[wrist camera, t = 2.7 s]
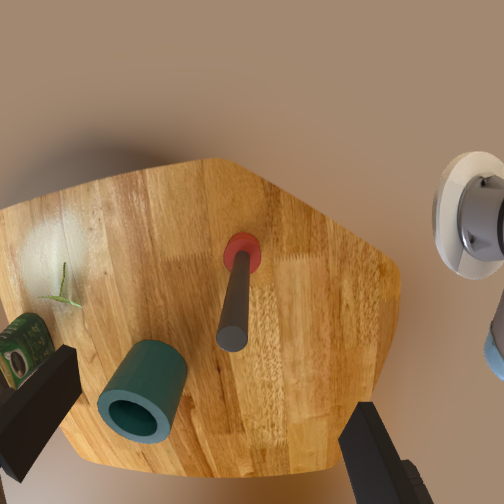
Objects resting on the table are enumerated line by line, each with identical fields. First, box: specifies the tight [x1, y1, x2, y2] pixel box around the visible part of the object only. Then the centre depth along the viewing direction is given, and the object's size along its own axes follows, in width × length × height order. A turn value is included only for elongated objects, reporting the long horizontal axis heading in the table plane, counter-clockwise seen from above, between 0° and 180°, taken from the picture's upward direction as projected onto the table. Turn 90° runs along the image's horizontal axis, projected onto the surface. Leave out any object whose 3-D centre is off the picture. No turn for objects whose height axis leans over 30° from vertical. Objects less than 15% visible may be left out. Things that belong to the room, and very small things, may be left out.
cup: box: [97, 340, 187, 444], centre depth 38 cm, size 10×10×13 cm
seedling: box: [38, 262, 83, 308], centre depth 40 cm, size 7×8×7 cm
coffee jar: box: [0, 313, 54, 392], centre depth 34 cm, size 10×8×19 cm
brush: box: [216, 232, 261, 352], centre depth 28 cm, size 4×4×24 cm
